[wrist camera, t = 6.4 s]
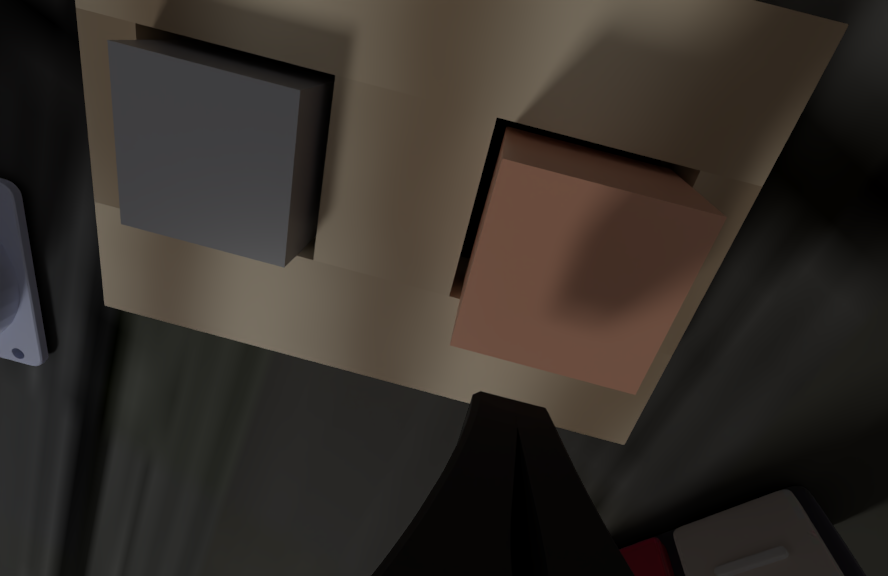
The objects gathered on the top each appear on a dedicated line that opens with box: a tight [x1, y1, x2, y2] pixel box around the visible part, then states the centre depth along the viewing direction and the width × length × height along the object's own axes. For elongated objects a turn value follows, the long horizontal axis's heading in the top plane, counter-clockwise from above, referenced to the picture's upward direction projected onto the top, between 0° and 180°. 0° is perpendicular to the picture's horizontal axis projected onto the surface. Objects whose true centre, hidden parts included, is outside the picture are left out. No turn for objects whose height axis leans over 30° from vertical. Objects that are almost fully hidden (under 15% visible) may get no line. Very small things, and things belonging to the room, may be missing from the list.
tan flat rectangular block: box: [75, 0, 849, 445], centre depth 15 cm, size 17×12×3 cm
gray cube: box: [107, 39, 335, 267], centre depth 14 cm, size 4×4×4 cm
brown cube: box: [450, 126, 727, 395], centre depth 12 cm, size 4×4×4 cm
